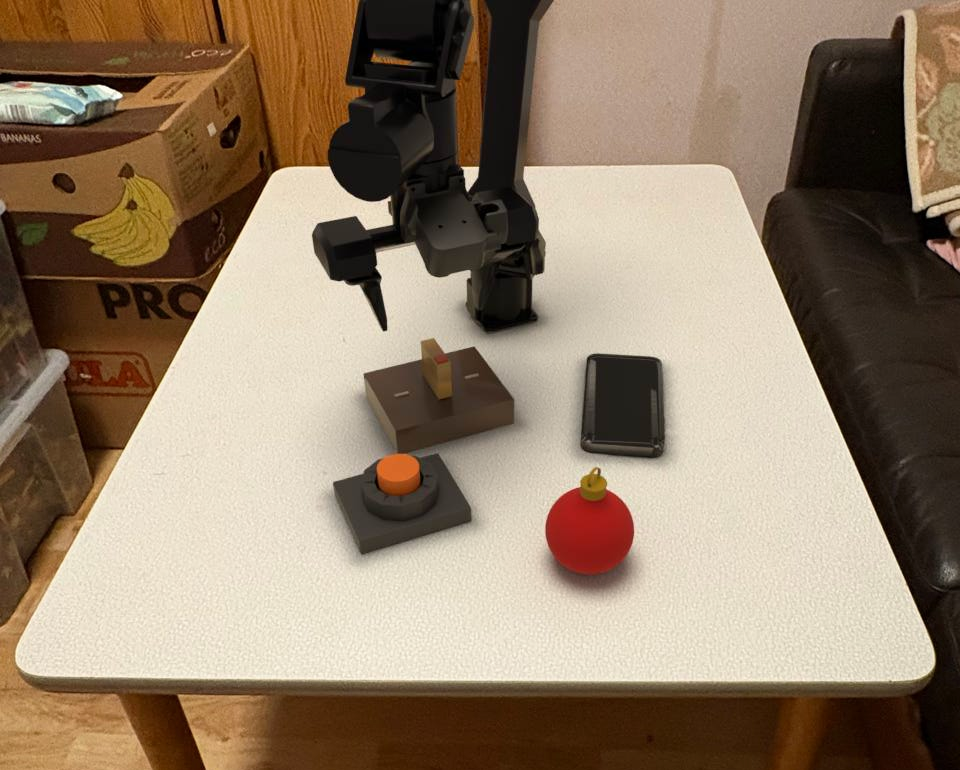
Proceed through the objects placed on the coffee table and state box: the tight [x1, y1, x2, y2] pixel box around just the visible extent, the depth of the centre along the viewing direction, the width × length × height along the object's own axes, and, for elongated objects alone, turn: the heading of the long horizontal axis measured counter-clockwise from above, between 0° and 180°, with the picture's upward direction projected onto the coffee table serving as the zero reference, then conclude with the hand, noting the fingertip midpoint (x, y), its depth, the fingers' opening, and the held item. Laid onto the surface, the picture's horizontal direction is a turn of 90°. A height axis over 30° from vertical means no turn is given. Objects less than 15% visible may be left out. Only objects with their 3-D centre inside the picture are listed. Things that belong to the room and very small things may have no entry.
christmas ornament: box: [544, 466, 635, 575], centre depth 72 cm, size 7×7×10 cm
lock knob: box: [420, 337, 452, 400], centre depth 87 cm, size 4×1×4 cm, turn 23°
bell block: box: [332, 452, 472, 556], centre depth 79 cm, size 10×8×4 cm
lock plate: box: [363, 346, 515, 454], centre depth 90 cm, size 12×10×3 cm
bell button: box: [377, 453, 420, 496], centre depth 78 cm, size 4×4×2 cm
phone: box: [580, 352, 666, 458], centre depth 90 cm, size 8×1×15 cm
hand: (431, 318), depth 83 cm, fingers open, 9 cm apart
